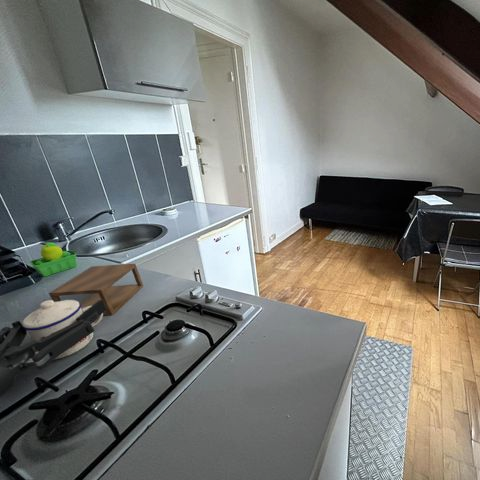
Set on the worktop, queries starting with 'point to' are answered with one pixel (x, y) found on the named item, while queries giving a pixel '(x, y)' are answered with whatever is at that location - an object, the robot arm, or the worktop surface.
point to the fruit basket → (54, 260)
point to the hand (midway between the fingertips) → (79, 306)
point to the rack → (101, 286)
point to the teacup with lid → (56, 321)
